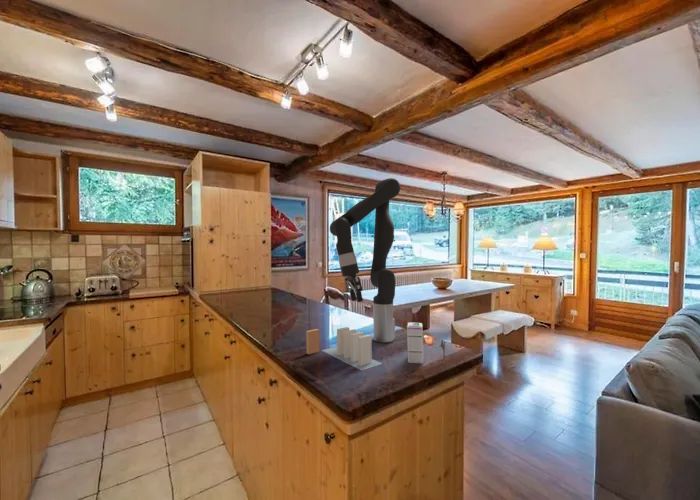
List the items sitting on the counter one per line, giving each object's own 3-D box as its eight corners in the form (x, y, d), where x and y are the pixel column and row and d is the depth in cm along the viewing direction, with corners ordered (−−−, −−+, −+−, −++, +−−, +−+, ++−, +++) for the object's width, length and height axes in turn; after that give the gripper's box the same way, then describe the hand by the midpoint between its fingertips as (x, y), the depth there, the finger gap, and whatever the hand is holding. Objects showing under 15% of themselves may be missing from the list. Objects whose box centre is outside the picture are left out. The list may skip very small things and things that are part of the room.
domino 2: (347, 351, 123) (347, 326, 123) (349, 352, 122) (349, 327, 122) (337, 354, 120) (336, 329, 120) (339, 355, 119) (339, 329, 119)
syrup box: (423, 366, 110) (423, 326, 110) (407, 365, 111) (406, 325, 111) (423, 360, 116) (422, 322, 116) (407, 359, 117) (407, 321, 117)
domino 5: (368, 361, 113) (368, 334, 113) (371, 362, 111) (371, 335, 111) (358, 364, 110) (358, 336, 110) (361, 365, 108) (360, 337, 108)
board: (341, 347, 131) (341, 345, 131) (382, 366, 110) (382, 363, 110) (321, 352, 125) (321, 350, 125) (361, 373, 104) (361, 370, 104)
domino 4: (361, 357, 116) (360, 331, 116) (363, 359, 115) (363, 332, 115) (350, 360, 113) (350, 334, 113) (353, 362, 112) (353, 335, 112)
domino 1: (317, 353, 125) (317, 328, 125) (319, 354, 124) (319, 329, 124) (306, 355, 122) (306, 330, 122) (308, 356, 121) (308, 331, 120)
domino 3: (354, 354, 120) (353, 329, 120) (356, 355, 119) (356, 330, 118) (343, 357, 117) (343, 331, 117) (346, 358, 116) (345, 332, 115)
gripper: (361, 261, 125) (371, 299, 124) (351, 263, 138) (360, 298, 138) (344, 265, 122) (354, 304, 122) (336, 267, 136) (344, 302, 135)
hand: (357, 301), depth 130 cm, fingers open, 8 cm apart
